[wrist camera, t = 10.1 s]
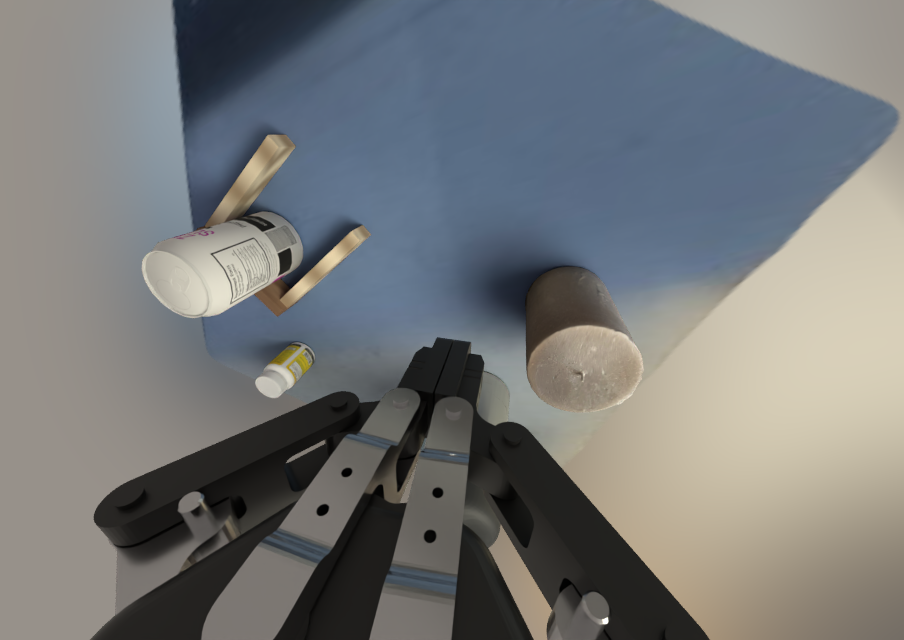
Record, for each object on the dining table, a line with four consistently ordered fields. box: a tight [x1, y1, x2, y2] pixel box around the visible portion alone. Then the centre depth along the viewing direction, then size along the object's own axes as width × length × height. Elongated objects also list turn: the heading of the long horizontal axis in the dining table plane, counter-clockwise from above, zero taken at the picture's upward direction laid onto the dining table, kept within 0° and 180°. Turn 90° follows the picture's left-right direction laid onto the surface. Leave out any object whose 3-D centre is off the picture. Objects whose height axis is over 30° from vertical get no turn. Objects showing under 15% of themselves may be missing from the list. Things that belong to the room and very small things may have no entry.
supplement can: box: [142, 211, 303, 318], centre depth 38 cm, size 8×8×15 cm
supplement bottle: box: [255, 342, 315, 398], centre depth 50 cm, size 5×5×8 cm
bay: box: [196, 135, 371, 317], centre depth 41 cm, size 18×14×4 cm
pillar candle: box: [525, 266, 644, 412], centre depth 34 cm, size 10×10×15 cm
